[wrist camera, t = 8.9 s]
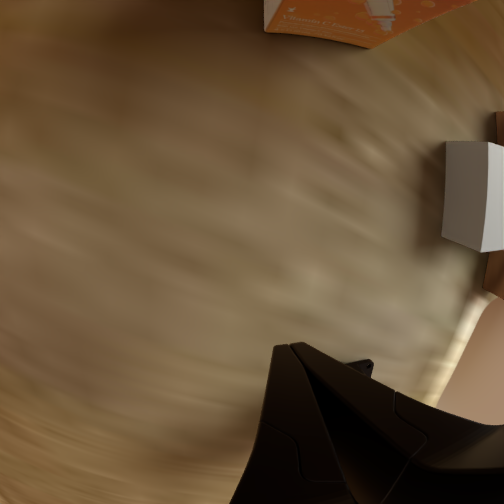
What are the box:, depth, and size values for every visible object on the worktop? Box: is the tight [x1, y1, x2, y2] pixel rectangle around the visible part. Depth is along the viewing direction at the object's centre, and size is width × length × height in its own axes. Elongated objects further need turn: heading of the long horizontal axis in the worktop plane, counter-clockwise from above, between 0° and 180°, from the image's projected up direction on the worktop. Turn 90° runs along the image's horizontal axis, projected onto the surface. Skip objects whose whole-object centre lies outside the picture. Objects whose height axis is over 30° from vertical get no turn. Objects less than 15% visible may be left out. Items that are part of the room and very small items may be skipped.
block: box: [441, 141, 504, 252], centre depth 19 cm, size 8×8×5 cm
